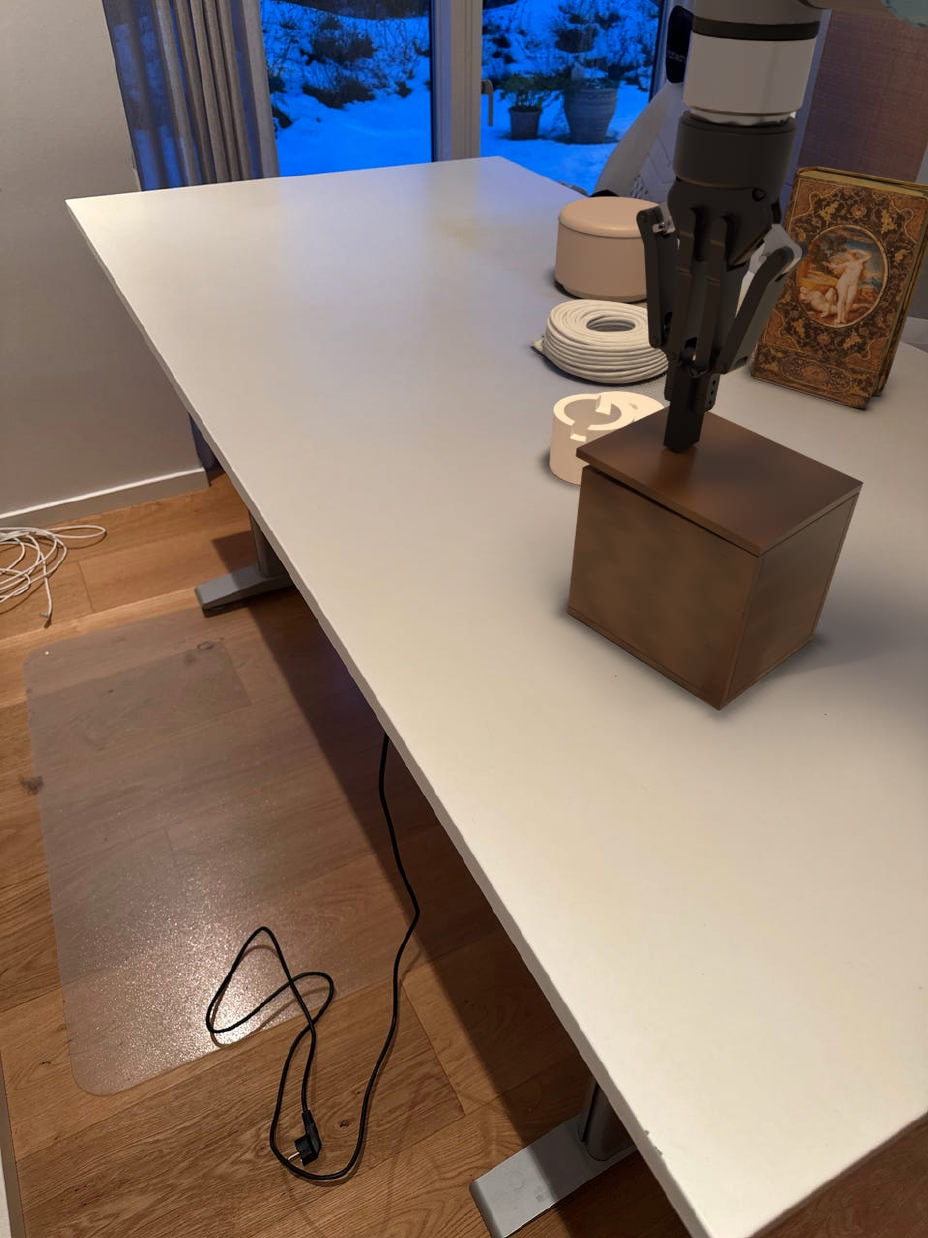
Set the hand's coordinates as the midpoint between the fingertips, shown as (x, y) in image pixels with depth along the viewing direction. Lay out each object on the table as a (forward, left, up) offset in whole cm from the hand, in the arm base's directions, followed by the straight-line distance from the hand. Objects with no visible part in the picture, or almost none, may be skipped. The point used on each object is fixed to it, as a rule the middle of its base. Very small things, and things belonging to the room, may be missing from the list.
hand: (681, 443), depth 74 cm
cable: (+28, -47, -17) cm, 57 cm away
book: (+2, -55, -17) cm, 57 cm away
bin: (-4, +1, -16) cm, 17 cm away
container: (+41, -74, -17) cm, 86 cm away
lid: (-3, +1, -1) cm, 4 cm away
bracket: (+17, -25, -17) cm, 34 cm away
